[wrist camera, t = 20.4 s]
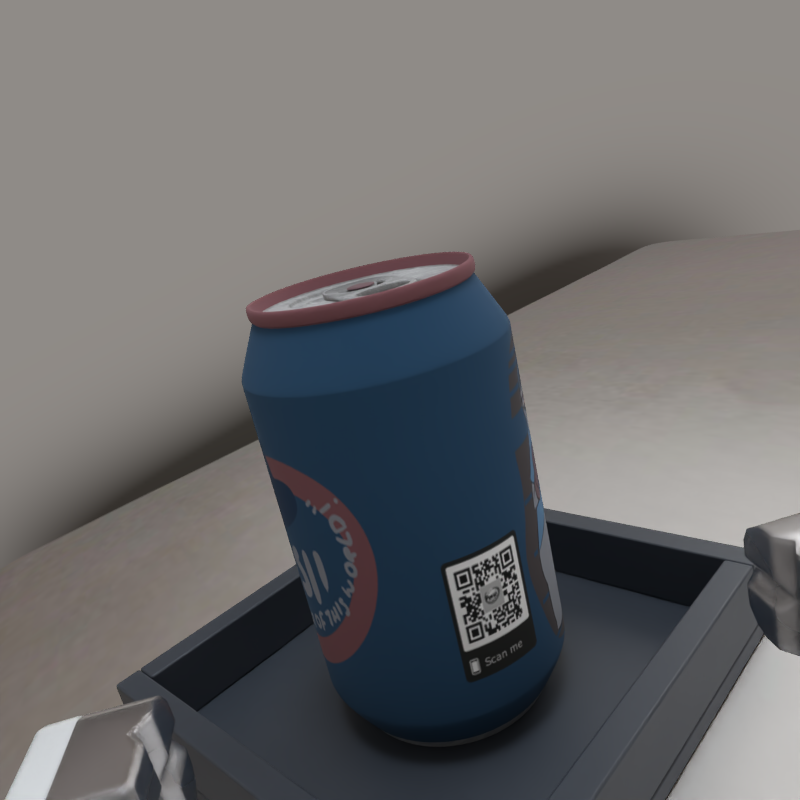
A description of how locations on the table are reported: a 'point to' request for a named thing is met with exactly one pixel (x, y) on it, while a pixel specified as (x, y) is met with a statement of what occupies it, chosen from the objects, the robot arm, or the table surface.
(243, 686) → the tray
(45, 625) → the table surface
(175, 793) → the robot arm
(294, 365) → the soda can
